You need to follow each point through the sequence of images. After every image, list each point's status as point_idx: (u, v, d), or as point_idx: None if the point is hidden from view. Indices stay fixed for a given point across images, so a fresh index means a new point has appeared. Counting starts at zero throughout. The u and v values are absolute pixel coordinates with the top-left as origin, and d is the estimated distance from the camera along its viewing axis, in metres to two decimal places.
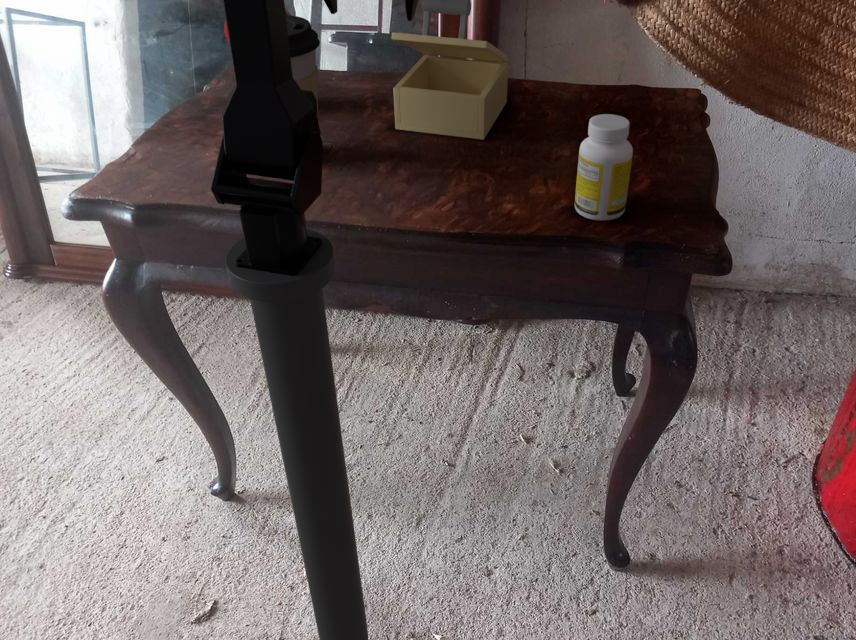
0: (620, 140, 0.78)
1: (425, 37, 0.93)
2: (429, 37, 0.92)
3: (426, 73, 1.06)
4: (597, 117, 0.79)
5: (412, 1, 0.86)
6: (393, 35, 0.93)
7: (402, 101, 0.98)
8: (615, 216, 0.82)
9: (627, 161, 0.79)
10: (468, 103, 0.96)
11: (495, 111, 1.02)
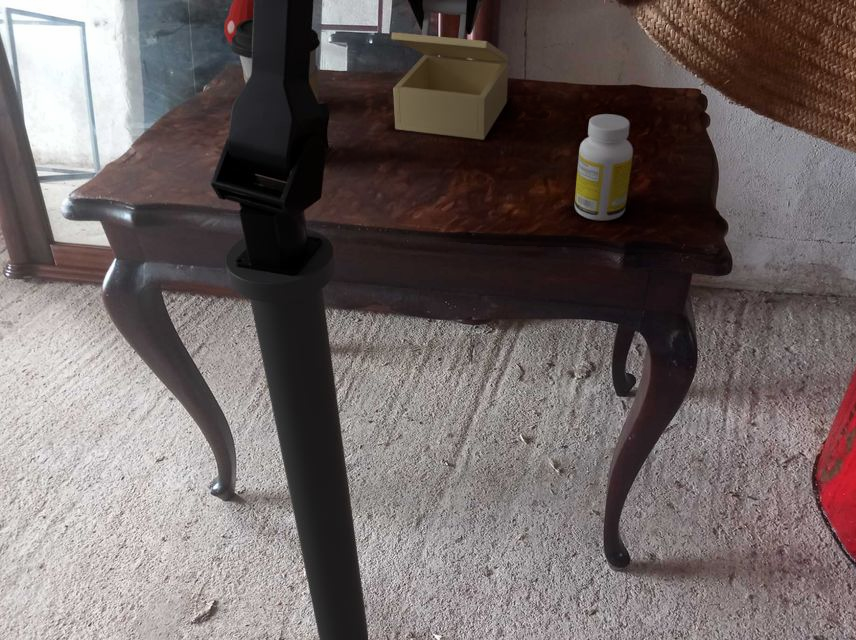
0: (620, 140, 0.78)
1: (425, 37, 0.93)
2: (429, 37, 0.92)
3: (426, 73, 1.06)
4: (597, 117, 0.79)
5: (473, 16, 0.92)
6: (393, 35, 0.93)
7: (402, 101, 0.98)
8: (615, 216, 0.82)
9: (627, 161, 0.79)
10: (468, 103, 0.96)
11: (495, 111, 1.02)
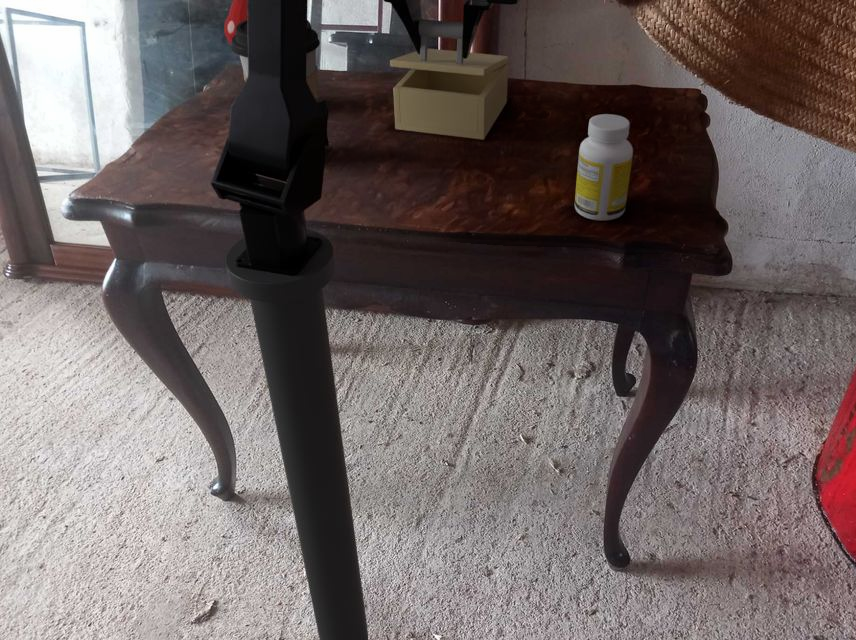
0: (620, 140, 0.78)
1: (423, 65, 0.94)
2: (427, 65, 0.94)
3: (426, 73, 1.06)
4: (597, 117, 0.79)
5: (469, 41, 0.92)
6: (392, 63, 0.95)
7: (402, 101, 0.98)
8: (615, 216, 0.82)
9: (627, 161, 0.79)
10: (468, 103, 0.96)
11: (495, 111, 1.02)
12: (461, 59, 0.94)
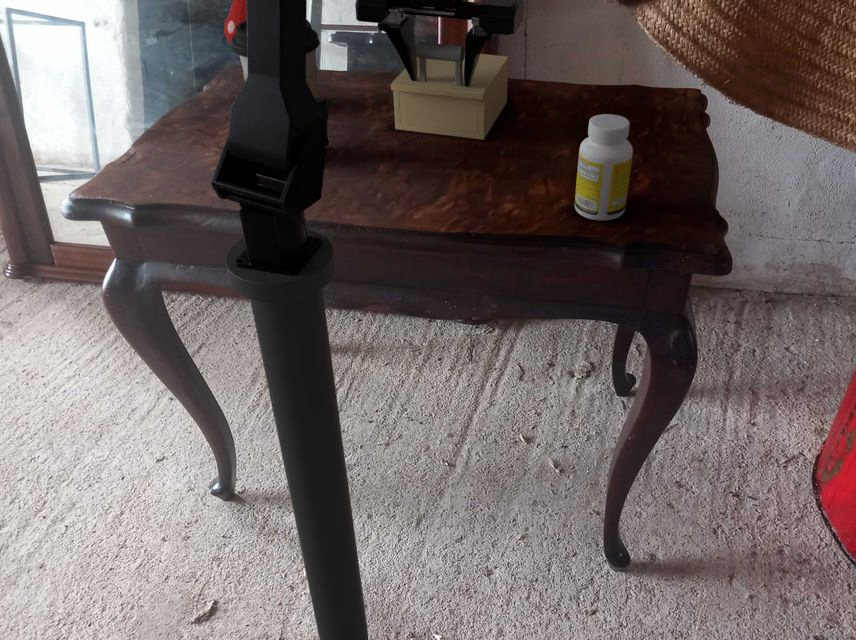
0: (620, 140, 0.78)
1: (423, 89, 0.95)
2: (427, 89, 0.95)
3: None
4: (597, 117, 0.79)
5: (471, 70, 0.93)
6: (392, 87, 0.96)
7: (402, 101, 0.98)
8: (615, 216, 0.82)
9: (627, 161, 0.79)
10: (468, 103, 0.96)
11: (495, 111, 1.02)
12: (460, 81, 0.95)
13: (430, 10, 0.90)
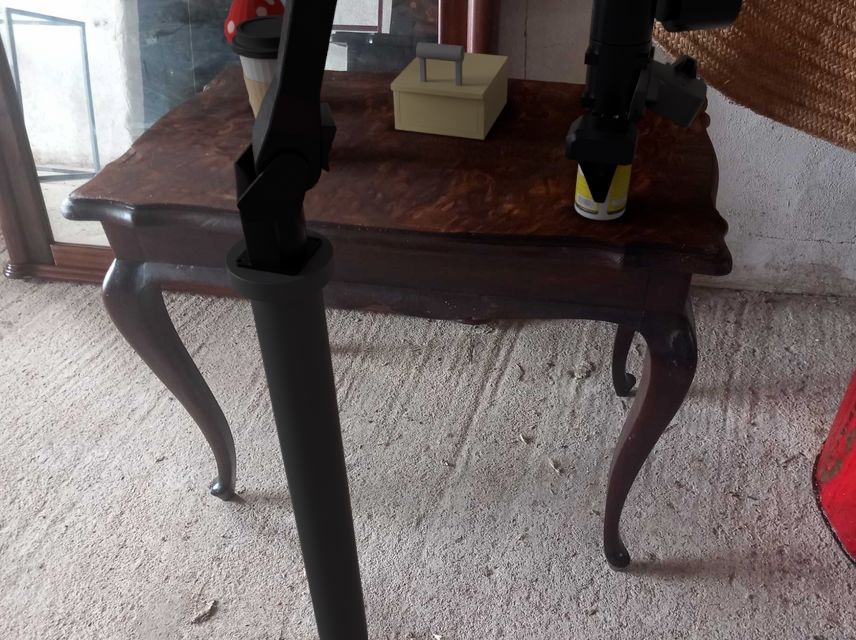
0: None
1: (423, 89, 0.95)
2: (427, 89, 0.95)
3: None
4: None
5: None
6: (392, 87, 0.96)
7: (402, 101, 0.98)
8: (615, 216, 0.82)
9: None
10: (468, 103, 0.96)
11: (495, 111, 1.02)
12: (460, 81, 0.95)
13: None
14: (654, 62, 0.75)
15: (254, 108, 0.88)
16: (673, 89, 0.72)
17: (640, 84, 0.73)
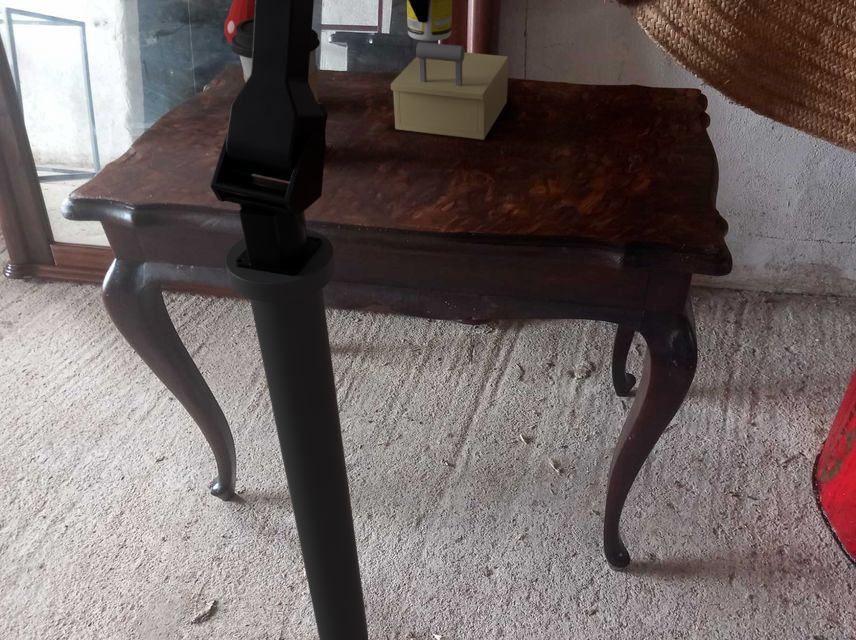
0: None
1: (423, 89, 0.95)
2: (427, 89, 0.95)
3: None
4: None
5: (409, 1, 0.92)
6: (392, 87, 0.96)
7: (402, 101, 0.98)
8: (439, 37, 0.95)
9: None
10: (468, 103, 0.96)
11: (495, 111, 1.02)
12: (460, 81, 0.95)
13: None
14: None
15: None
16: None
17: None
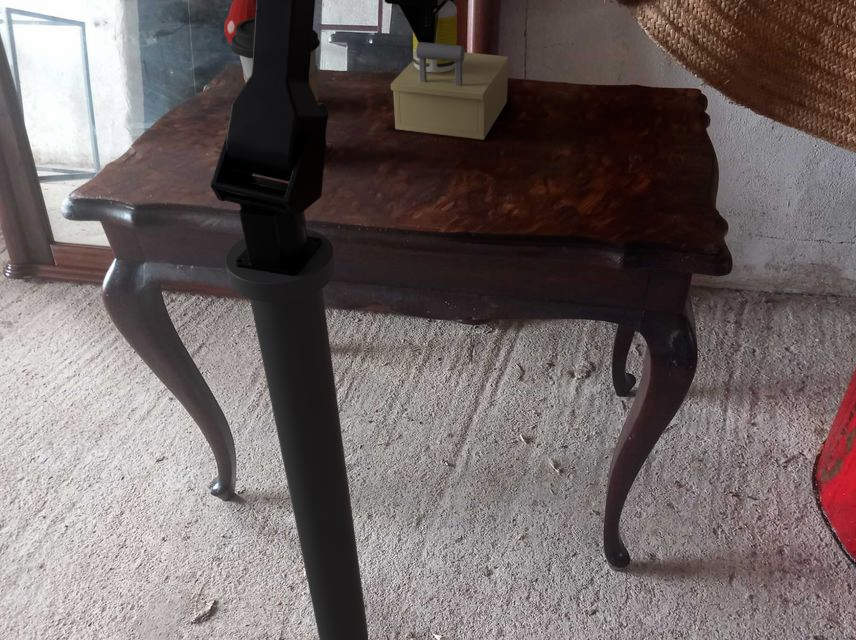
0: None
1: (423, 89, 0.95)
2: (427, 89, 0.95)
3: None
4: None
5: (415, 35, 0.94)
6: (392, 87, 0.96)
7: (402, 101, 0.98)
8: (445, 69, 0.98)
9: (449, 17, 0.94)
10: (468, 103, 0.96)
11: (495, 111, 1.02)
12: (460, 81, 0.95)
13: None
14: None
15: None
16: None
17: None
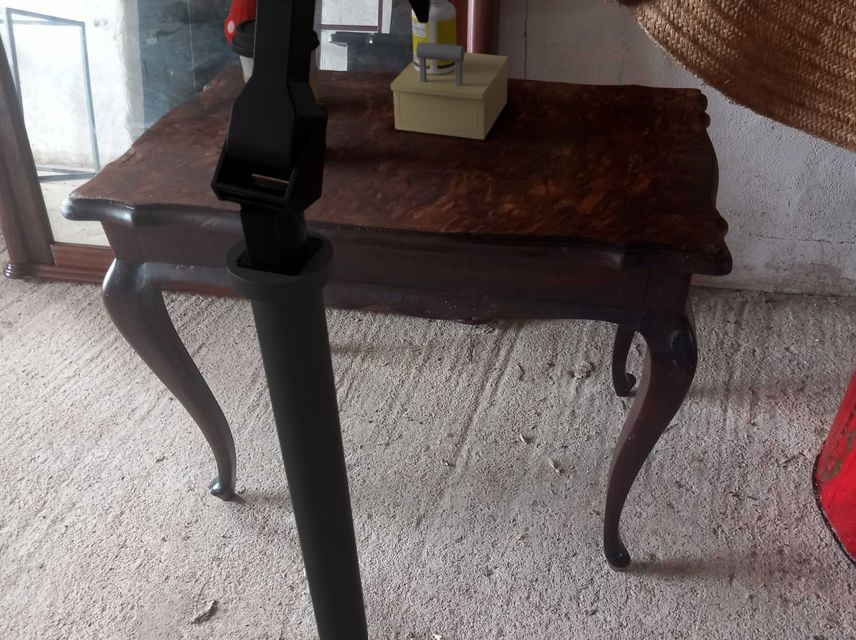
0: (441, 0, 0.94)
1: (423, 89, 0.95)
2: (427, 89, 0.95)
3: None
4: None
5: (409, 1, 0.91)
6: (392, 87, 0.96)
7: (402, 101, 0.98)
8: (445, 70, 0.98)
9: (448, 19, 0.95)
10: (468, 103, 0.96)
11: (495, 111, 1.02)
12: (460, 81, 0.95)
13: None
14: None
15: None
16: None
17: None
